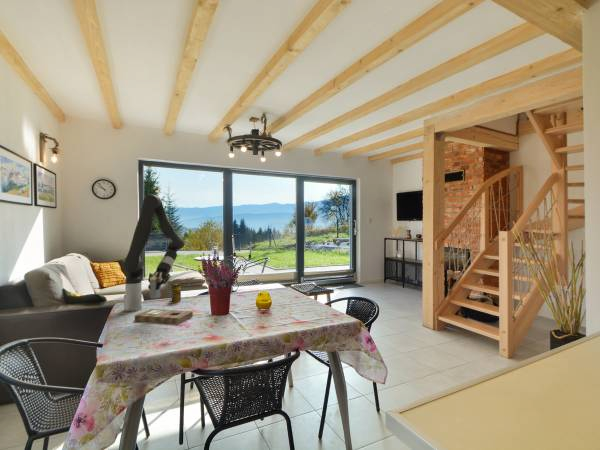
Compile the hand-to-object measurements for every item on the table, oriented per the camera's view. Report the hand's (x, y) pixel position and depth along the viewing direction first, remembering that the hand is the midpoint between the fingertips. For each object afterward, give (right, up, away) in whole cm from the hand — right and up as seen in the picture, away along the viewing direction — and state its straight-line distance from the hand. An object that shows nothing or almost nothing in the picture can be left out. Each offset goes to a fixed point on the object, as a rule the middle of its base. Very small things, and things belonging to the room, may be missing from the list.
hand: (153, 288), depth 184 cm
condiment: (-3, -17, +40) cm, 44 cm away
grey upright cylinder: (0, -6, +2) cm, 6 cm away
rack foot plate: (+6, -17, +1) cm, 18 cm away
